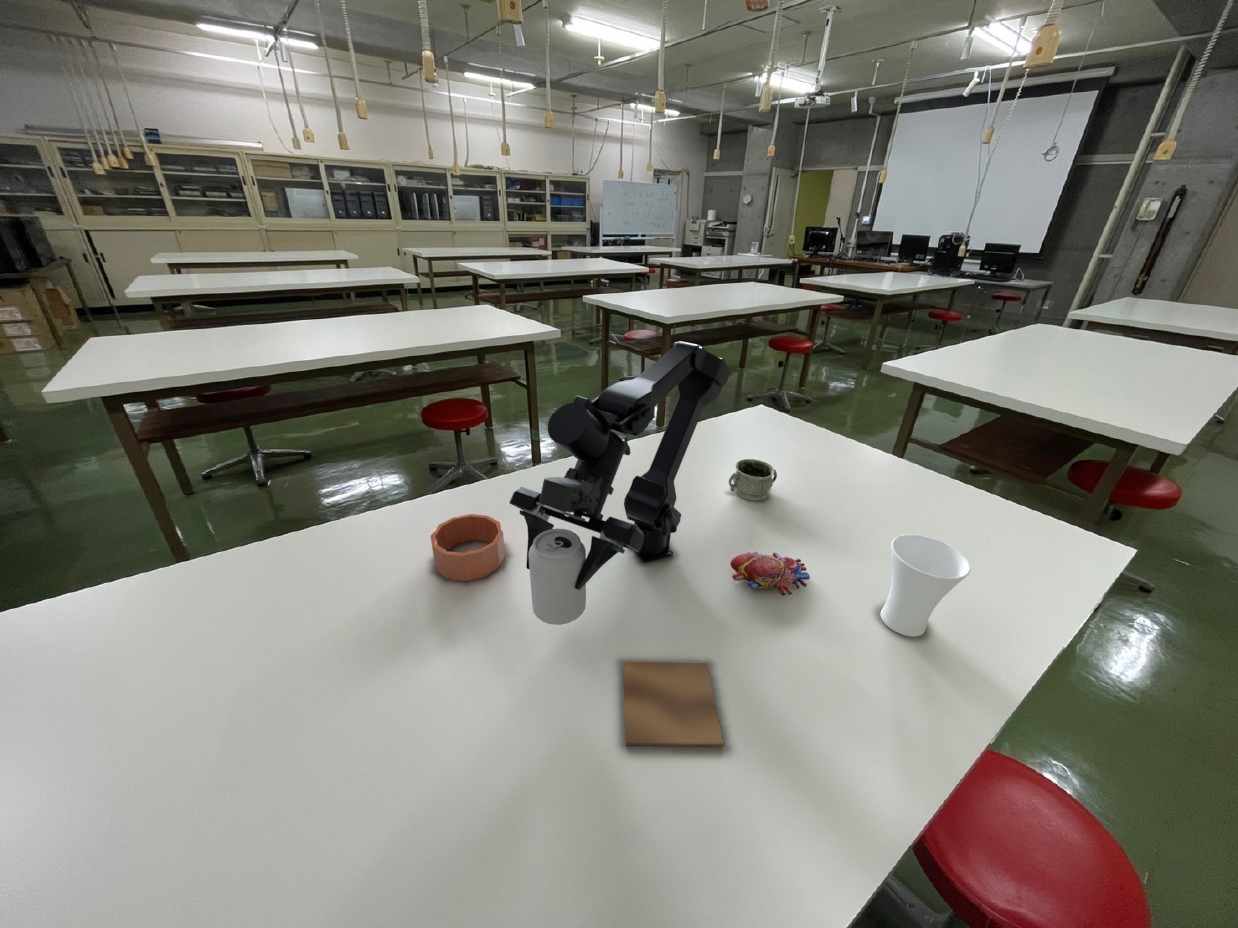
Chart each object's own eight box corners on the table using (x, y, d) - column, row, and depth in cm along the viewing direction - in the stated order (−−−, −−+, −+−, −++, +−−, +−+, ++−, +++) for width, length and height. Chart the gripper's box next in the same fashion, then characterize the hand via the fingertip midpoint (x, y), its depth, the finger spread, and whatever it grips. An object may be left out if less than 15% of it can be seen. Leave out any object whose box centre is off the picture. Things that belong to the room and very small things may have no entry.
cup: (932, 608, 83) (961, 542, 77) (946, 655, 74) (980, 586, 68) (864, 592, 86) (887, 528, 80) (870, 636, 77) (896, 568, 71)
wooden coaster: (623, 663, 71) (623, 661, 71) (706, 664, 71) (706, 662, 71) (625, 745, 61) (625, 743, 60) (723, 745, 61) (723, 743, 61)
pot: (497, 532, 97) (495, 509, 95) (510, 571, 87) (508, 546, 85) (432, 546, 93) (428, 521, 90) (438, 587, 83) (434, 562, 81)
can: (596, 610, 70) (597, 542, 65) (554, 638, 66) (550, 568, 60) (564, 583, 75) (562, 517, 69) (522, 607, 71) (516, 539, 65)
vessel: (764, 479, 120) (768, 456, 117) (784, 499, 112) (789, 474, 109) (718, 484, 117) (722, 461, 114) (735, 504, 109) (739, 480, 106)
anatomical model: (720, 550, 88) (782, 540, 94) (715, 567, 89) (777, 556, 96) (762, 591, 79) (828, 576, 85) (756, 609, 80) (821, 593, 87)
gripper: (512, 434, 66) (463, 546, 63) (639, 470, 59) (590, 599, 55) (549, 462, 76) (508, 559, 73) (661, 496, 69) (621, 606, 65)
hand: (552, 578), depth 66 cm, fingers closed on can, 7 cm apart
